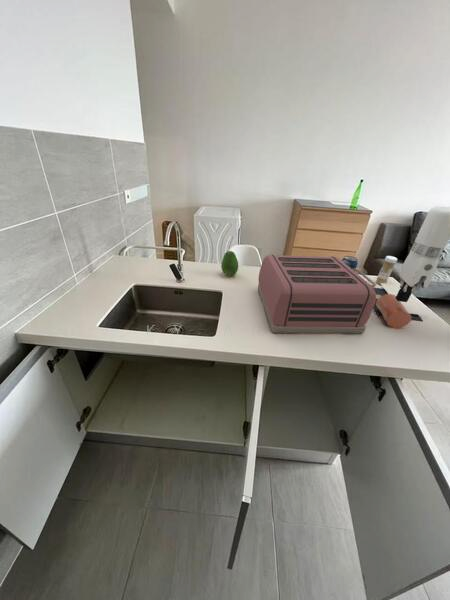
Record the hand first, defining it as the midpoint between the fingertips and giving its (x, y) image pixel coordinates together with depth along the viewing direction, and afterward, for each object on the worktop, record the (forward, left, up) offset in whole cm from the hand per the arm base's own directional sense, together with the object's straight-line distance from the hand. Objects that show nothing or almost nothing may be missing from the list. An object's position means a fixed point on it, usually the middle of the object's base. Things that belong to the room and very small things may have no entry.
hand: (400, 300), depth 84 cm
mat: (-5, -16, -10) cm, 19 cm away
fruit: (+64, -22, -10) cm, 68 cm away
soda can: (+10, -31, -10) cm, 34 cm away
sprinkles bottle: (-8, -34, -10) cm, 36 cm away
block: (+1, -12, -6) cm, 14 cm away
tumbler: (0, +4, -6) cm, 7 cm away
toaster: (+29, -1, -10) cm, 31 cm away
